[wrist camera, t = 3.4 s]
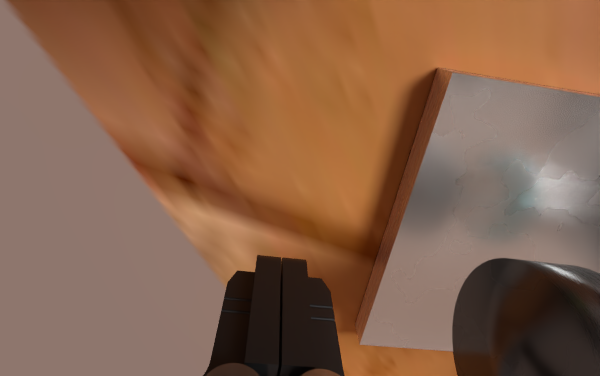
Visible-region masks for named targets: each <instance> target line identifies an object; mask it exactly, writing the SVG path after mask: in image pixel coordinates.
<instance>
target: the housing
mask: <svg viewBox="0 0 600 376" xmlns="http://www.w3.org/2000/svg"><path fill="white" fill-rule="evenodd" d="M496 258H510V259H519V260H528V261H538V262H547V263H556V264H566V265H574V266H580V267H583V268H587V269H590V270H593V271H595V272H597V273H600V95H598V94H592V93H586V92H580V91H574V90H568V89H562V88H556V87H550V86H545V85H539V84H533V83H527V82H521V81H515V80H509V79H503V78H497V77H491V76H485V75H479V74H473V73H467V72H461V71H455V70H449V69H443V68H437V71H436V75H435V78H434V81H433V84H432V87H431V90H430V93H429V96H428V99H427V103H426V106H425V109H424V112H423V115H422V118H421V121H420V124H419V127H418V131H417V134H416V137H415V140H414V143H413V146H412V149H411V152H410V155H409V158H408V162H407V165H406V168H405V171H404V174H403V177H402V180H401V183H400V186H399V190H398V193H397V196H396V199H395V202H394V205H393V208H392V211H391V214H390V218H389V221H388V224H387V227H386V230H385V233H384V236H383V239H382V242H381V246H380V249H379V252H378V255H377V258H376V261H375V264H374V267H373V270H372V273H371V277H370V280H369V283H368V286H367V289H366V292H365V295H364V298H363V301H362V305H361V308H360V311H359V314H358V317H357V320H356V323H355V327H356V331H357V336H358V340H359V345H372V346H386V347H399V348H413V349H427V350H440V351H453V344H452V324H453V315H454V309H455V304H456V300H457V297H458V294H459V292H460V289H461V287H462V285H463V283H464V281H465V280H466V278H467V277H468V276H469V274H470V273H471V272H472V271H473V270H474V269H475V268H476V267H478V266H479V265H480V264H482V263H484V262H486V261H488V260H492V259H496Z"/></svg>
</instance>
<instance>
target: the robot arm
mask: <svg viewBox="0 0 600 376" xmlns="http://www.w3.org/2000/svg"><path fill="white" fill-rule="evenodd" d="M332 308H333V305H332V299H331V293H330V291H329V289H328V288H327V286H326V285H325V283H324V282H323V280H322V279H320V278H310V277H308V274H307V263H306V260H301V259H292V258H282V261H281V257H271V256H261V255H257V261H256V269H255V272H246V271H237V272H236V273H235V274H234V275H233V277H232V278H231V279H230V280H229V281H228V283H227V288H226V292H225V297H224V301H223V306H222V311H221V315H220V320H219V324H218V329H217V333H216V338H215V343H214V347H213V351H212V356H211V360H210V364H209V367H208V369H207V371H206V372H205V374H204V375H203V376H345V375H344V372H343V367H342V361H341V354H340V348H339V342H338V336H337V330H336V324H335V321H334V320H335V317H334V311H333V309H332Z"/></svg>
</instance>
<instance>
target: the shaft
mask: <svg viewBox="0 0 600 376" xmlns="http://www.w3.org/2000/svg"><path fill="white" fill-rule="evenodd" d="M452 344H453V354H454V360H455V366H456V371H457V375H458V376H600V273H597V272H595V271H593V270H590V269H587V268H583V267H580V266H574V265H566V264H556V263H547V262H538V261H528V260H519V259H510V258H496V259H492V260H488V261H486V262H484V263H482V264H480V265H479V266H478V267H476V268H475V269H474V270H473V271H472V272H471V273H470V274H469V276H468V277H467V278H466V280H465V281H464V283H463V285H462V287H461V289H460V292H459V294H458V297H457V300H456V304H455V309H454V315H453V324H452Z"/></svg>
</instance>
